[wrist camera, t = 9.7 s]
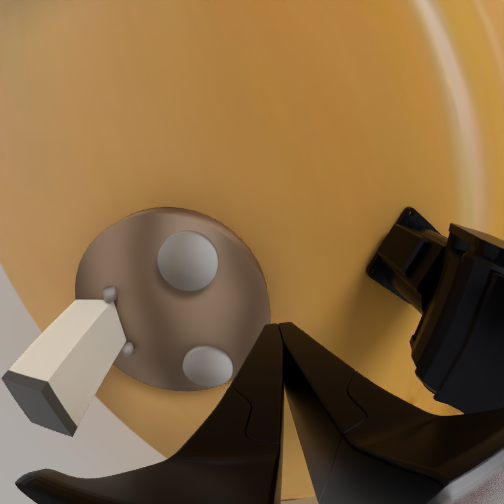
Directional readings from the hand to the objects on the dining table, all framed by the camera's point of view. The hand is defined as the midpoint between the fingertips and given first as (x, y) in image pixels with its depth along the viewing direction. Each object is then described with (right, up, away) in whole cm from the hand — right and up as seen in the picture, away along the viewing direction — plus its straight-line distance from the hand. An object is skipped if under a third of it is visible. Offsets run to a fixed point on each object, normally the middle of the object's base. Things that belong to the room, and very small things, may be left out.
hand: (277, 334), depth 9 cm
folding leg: (-12, -3, +10) cm, 16 cm away
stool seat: (-7, -1, +13) cm, 15 cm away
